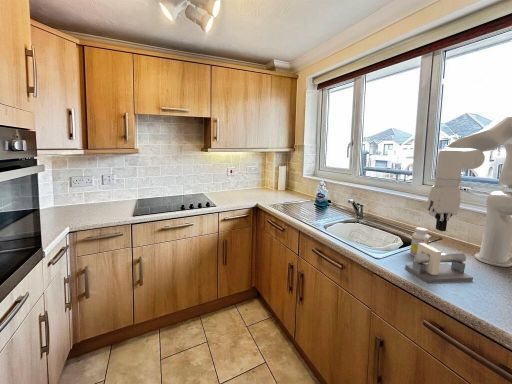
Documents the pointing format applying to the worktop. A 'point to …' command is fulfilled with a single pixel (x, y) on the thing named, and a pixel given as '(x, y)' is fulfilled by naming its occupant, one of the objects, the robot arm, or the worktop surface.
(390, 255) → the worktop surface
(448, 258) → the pipe
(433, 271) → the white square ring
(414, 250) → the supplement bottle
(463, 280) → the base board
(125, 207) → the worktop surface
